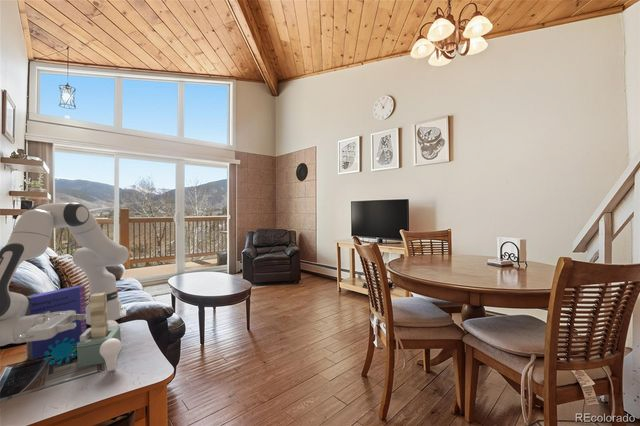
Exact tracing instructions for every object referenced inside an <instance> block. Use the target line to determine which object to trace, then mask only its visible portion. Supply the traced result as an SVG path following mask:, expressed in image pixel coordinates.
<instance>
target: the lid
mask: <svg viewBox="0 0 640 426" xmlns="http://www.w3.org/2000/svg"><path fill="white" fill-rule="evenodd" d="M119 331H120V332H121V326H118V327H115V328H109V329H108V334H109V335H108V336H106V337H101V338H95V339H92V336H91V327H88V328H87V330H86V331H85V332H84V333H83V334H82V335H81V336H80V342H79V343H78V344H77V346H76V347H77V348H79V347H84V346H90V345H96V344H101V343H103V342H105V341H106V340H108V339H111V338H114V337H115V336H116V335H117V333H118V332H119Z"/></svg>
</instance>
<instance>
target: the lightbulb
mask: <svg viewBox="0 0 640 426" xmlns="http://www.w3.org/2000/svg"><path fill="white" fill-rule="evenodd" d="M121 349H122V341H121V342H120V341H119V340H118V339H115V338H111V339H108V340H106V341H105V342H103V344H102V345H101V347H100V354H101V356H102V357H103V358H104V359H105V365H106V370H107V371H108V372H113V371H114V370H115V369H116V368H117V362H118V356H119V354H120V352H121Z"/></svg>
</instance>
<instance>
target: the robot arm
mask: <svg viewBox="0 0 640 426" xmlns="http://www.w3.org/2000/svg"><path fill="white" fill-rule="evenodd" d="M62 228H67V229H68V231H69V232H70V234H71V236H72V237H73V239H74V240H75V242H76V243H77V245H79V246H80V248H76V250H75V251H74V252H73V254H72V262H73V263H74V264H75V265H76V266H77V267H79V268H80V269H81V270H82V271H83V273H84V274H85V276H86V278H87V280H88V287H89V289H88V290H89V295H88V304H87V305H85V306H86V314H76V311H73V310H69V311H57V312H52V313H50V311H47V312H42V313H39V314H35V315H30V316H25V315H26V312H27V309H28V306H29V300H28V298H27V297H26V296H27V295H25V294H22V293H18V292H14V291H10V290H9V288H10V287H9V286H10V284H11V282H12V280H13V278H14V275H15V274H16V271H17V269H18V268H19V266H20V264H22V263H23V262H25V261H28V260H33V259H35V258H39V257H40V256H43V254H45V252H46V250H47V248H48V247H49V245H50V243H51V239H52V235H53V230H54V229H62ZM129 257H130V252H129V249H128V248H127V247H126V246H125V245H121V244H119V243H117V242H116V241H114V240H113V239H111V238H110V237H109V236H107V234H106V233H105V232H104V231H103V229H102V228H101V225H99V222H98V221H97V220H96V218H95V216H94V215H93V213H91V211H90V210H89V209H88V208H87V206H86V205H84V204H82V203H79V202H75V201H74V202H72V201H71V202H52V203H51V202H50V203H45V204H44V203H41V204H36V205H35V204H34V205H32V206H30V207H29V208H28V209H27V210H26V211H24V212H23V213H22V214H21V216H20V217H19V219H18V220H17V221H16V223H15V225H14V227H13V229H12V232H11V234H10V237H9V239H8V240H7V242H6V244H5V245H4V246H3V247H2V248H1V249H0V347H3V346H6V345H9V344H22V343H27V342H29V341H39V340H46V339H50V338H52V337H54V336H55V335H56V334H57V333H59V332H63V331H66V330H69V329H74V328H75V327H76V323H75V322H74V323H71V322H73V321H75V320H84V319H85V318H86V325H89V326H91V313H90V296H91V295H93V294H96V293H104V292H106V297H107V320H113V321H116V320H119V319H122V318H124V317H125V318H126V316H127V311H126V309H127V308H126V309H123V308H124V307H123V306H122V305H123V304H122V300H121V299H120V298H119V293H118V292H119V290H118V289H117V280H116V279H117V278H116V276H115V274H113V273H112V272H109V271H108V269H107V268H106V267H115V266H119V265H124V264H125V263H127V262H128V260H129Z"/></svg>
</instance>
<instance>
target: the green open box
mask: <svg viewBox="0 0 640 426" xmlns="http://www.w3.org/2000/svg"><path fill="white" fill-rule="evenodd" d="M108 335H109V334H108ZM114 338H115V339H118V340H119V341H120V342H121V343H122V338H121V330H120V331H119V332H118V333H117V335H116V336H115V337H114ZM102 344H103V343H101V344H96V345H90V346H84V347H79V348H77V356H76V357H77V369H79V368H85V367H89V366H94V365H95V366H96V365H99V364H100V365H101V364H106V362H105V359H104V358H103V357H102V356H101V354H100V347H101V345H102Z"/></svg>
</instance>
